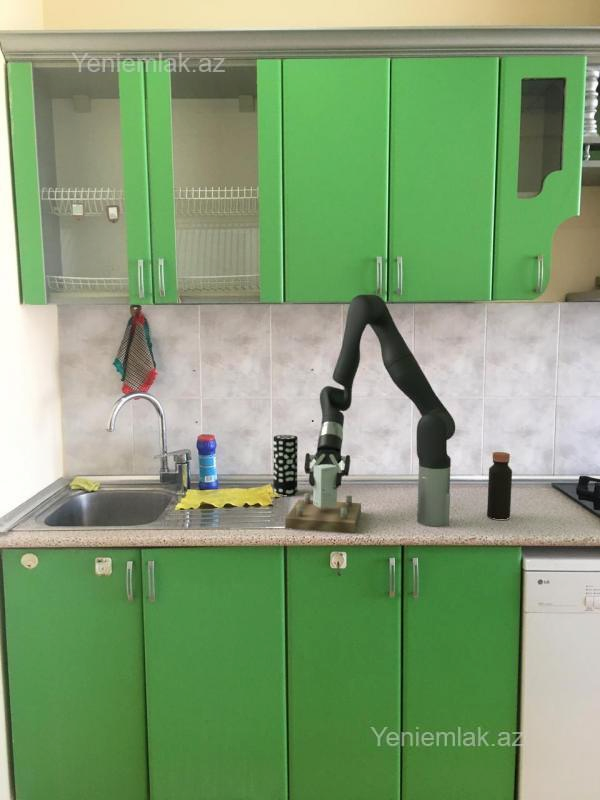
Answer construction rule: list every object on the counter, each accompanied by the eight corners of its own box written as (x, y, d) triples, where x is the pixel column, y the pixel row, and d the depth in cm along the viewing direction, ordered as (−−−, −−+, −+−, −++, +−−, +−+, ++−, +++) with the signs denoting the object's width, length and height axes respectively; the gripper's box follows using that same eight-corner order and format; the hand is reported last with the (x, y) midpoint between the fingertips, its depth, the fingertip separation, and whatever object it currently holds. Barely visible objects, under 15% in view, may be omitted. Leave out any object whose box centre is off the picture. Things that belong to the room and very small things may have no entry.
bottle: (488, 512, 194) (491, 450, 192) (511, 515, 191) (514, 452, 189) (485, 518, 188) (487, 454, 186) (508, 521, 185) (511, 456, 183)
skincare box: (321, 508, 182) (321, 468, 180) (312, 505, 185) (312, 465, 184) (337, 505, 185) (338, 466, 183) (328, 501, 189) (329, 463, 187)
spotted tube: (269, 495, 213) (269, 438, 210) (279, 489, 221) (279, 434, 218) (291, 497, 210) (292, 439, 207) (300, 491, 218) (301, 435, 215)
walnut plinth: (360, 512, 193) (361, 493, 193) (354, 533, 174) (354, 512, 173) (298, 508, 197) (298, 490, 196) (285, 528, 178) (285, 508, 177)
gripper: (306, 431, 191) (299, 477, 181) (352, 433, 189) (347, 480, 179) (309, 445, 197) (302, 490, 187) (354, 447, 194) (349, 493, 184)
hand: (324, 485), depth 183 cm, fingers closed on skincare box, 7 cm apart
